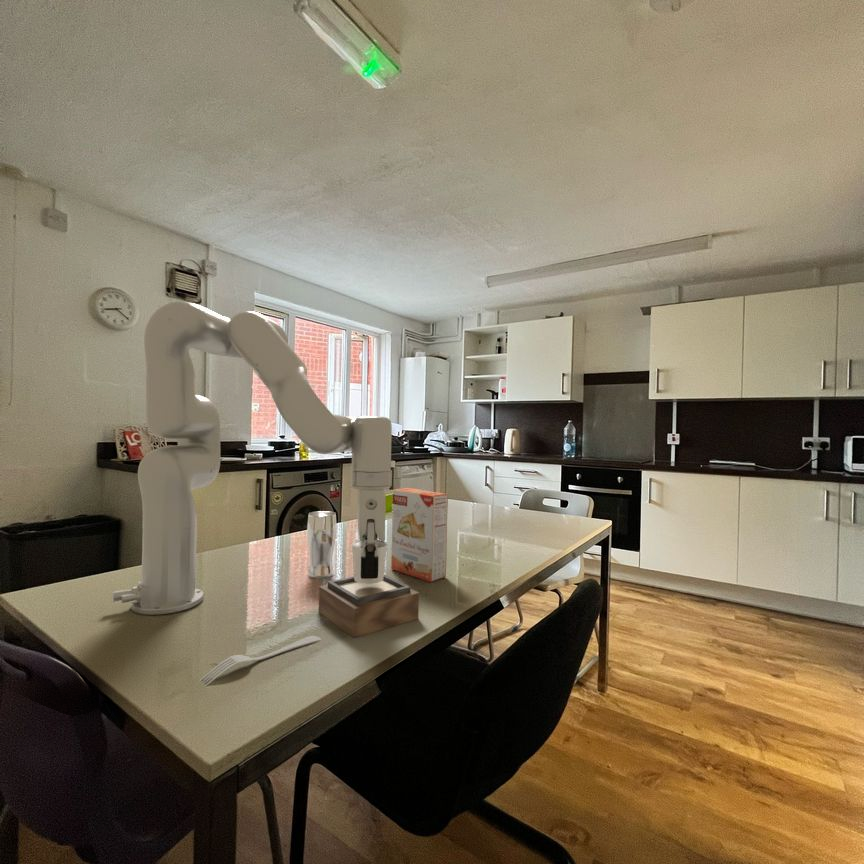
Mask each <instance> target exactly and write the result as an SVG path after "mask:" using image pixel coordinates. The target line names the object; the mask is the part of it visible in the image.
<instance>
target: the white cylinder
mask: <svg viewBox="0 0 864 864" xmlns="http://www.w3.org/2000/svg"><path fill="white" fill-rule="evenodd" d="M362 542H363V540H362ZM362 542H361V541H360V540H359V539H358V540H356V541H353V542H352V543H351V547H352V548H351V549H352V563H353V577H354V581H356V582H358V583H363V584H373V583H378V582H381V581H382V580H383V577H384V575H385V567H386V559H387V549H388V542H386V541H383V542H382V541H381V540H379V539H378V545H377V556H378V578H376V579H362V578H361V557H363V543H362ZM366 545H367V544H366ZM374 545H375V544H374ZM365 554H366V550H365Z"/></svg>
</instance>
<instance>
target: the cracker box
mask: <svg viewBox="0 0 864 864" xmlns="http://www.w3.org/2000/svg"><path fill="white" fill-rule="evenodd" d="M448 503H449V494H448V493H443V492H436V491H431V490H424V489H418V488H414V487H413V488H411V487H403V488H402V487H401V488H395V489H392V528H391V557H390V559H391V563H390V564H391V565H390V566H391V567H390V568H391V570H393V571H397V572H399V573H401V574H402V573H403V574H405V575H408V576H412V577H414V578H417V579H420V580H422V581H426V582H428V583H432V582H435V581H438V580H441V579H444V578H446V577H447V546H448V545H447V543H448V542H447V541H448V511H449V510H448V509H449V508H448V506H449V505H448Z"/></svg>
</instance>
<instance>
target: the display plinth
mask: <svg viewBox="0 0 864 864" xmlns="http://www.w3.org/2000/svg"><path fill="white" fill-rule="evenodd" d="M419 606H420V592H419V591H417V590H414V589H413V588H411V586H409V585H408V584H405V583H403V582H401V581H399V580H397V579H395V578H392V577H390V576H388V575H386V574H384V577H383V580H382V581H381V582H378V583H373V584H363V583H358V582H356V581H354V576H349V577H345V578H340V579H334V580H330V581H327V584H325V585H324V584H323V585H320V586H318V613H320V614H321V615H323V617H325V618H327V619H328V620H329V621H331V622H332V623H333V624H335V625H336V626H337V627H339V628H340V629H341V630H343V631H344V632H345V633H347V634H348V635H349V636H351V637H352V638H358V637H361V636H364V635H365V636H366V635H369V634H371V633H375V632H378V631H382V630H385V629H388V628H392V627H395V626H399V625H402V624H406V623H408V622H411V621H415V620H418V619H419V613H420V612H419V609H420V608H419Z"/></svg>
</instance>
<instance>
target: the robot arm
mask: <svg viewBox="0 0 864 864" xmlns="http://www.w3.org/2000/svg"><path fill="white" fill-rule="evenodd" d="M143 335H144V336H143V342H144V343H143V346H144V354H145V355H144V356H145V366H146V367H145V368H146V369H145V370H146V377H145V380H146V381H145V382H146V383H145V387H146V388H145V396H146V397H145V399H146V401H145V403H146V404H145V407H146V408H145V409H146V410H145V411H146V412H145V414H146V425H147V428H148V430H149V432H150V433H152V434H153V436H156V437H158V438H160V439H166V440H167V439H168V440H177V445H166V446H161V447H158V448H154V449H152V450H151V451H149V452H147V453H146V454H145V455H144V456H143V457H142V459H141V460H140V462H139V465H138V469H137V480H138V481H137V482H138V487H139V491H140V497H141V504H142V505H141V507H142V526H141V527H142V535H141V536H142V541H141V543H142V544H141V549H142V550H141V580H139V581H137V585H135V586H134V585H133V586H132V587H131V588H130V589H129V588H128V589H119V590H118V589H117V590H114V591H113V590H112V595H111V596H112V602H113V603H114V602H119V601H121V603H122V604H125V603H129V602H131V610H132V611H133V612H135V613H137V614H140V615H151V616H154V615H156V616H157V615H167V614H173V613H178V612H182V611H186V610H189V609H191V608H193V607H195V606H197V605H199V604H200V603H201V602H203V600H204V596H205V595H204V591H202V589H200V588H196V583H197V582H196V577H197V573H196V572H197V571H196V570H197V569H196V568H197V535H198V533H197V530H198V522H197V520H198V518H197V517H198V515H197V514H198V513H197V506H196V501H195V498H194V496H193V493H192V490H196V489H200V488H204V487H207V486H209V485H210V484H211V483H213V482H214V481H215V480H216V478H217V477H218V475H219V472H220V468H221V417H220V414H219V411H218V408H217V406H216V405H215V404H214V402H212V401H211V400H210V399H209V398H207V397H204V396H202V395H199V394H196V385H195V384H196V383H195V380H196V374H195V367H194V363H193V361H192V359H191V356H190V353H189V352H190V350H191V349H193V350H196V351H197V350H198V351H200V352H204V353H208V354H212V355H216V356H219V357H221V356H222V357H230V358H238V359H243V360H244V361H245V363H246V364H247V365H248V366H249V367H250V369H251V370H252V371H253V372H254V373H255V374H256V375H257V377H258V378H259V379H260V381H262V383H263V384H264V385H265V387H266V388H267V389H268V391H269V392H270V395H271V397H272V400H273V403H274V404H275V405H276V408H277V410H278V412H279V414H280V416H281V417H282V419H283V420H284V421H285V423H286V424H287V425H288V426H289V428H290V429H291V430H292V431H293V433H294V434H295V435H296V437H298V438H299V440H300V441H301V442H302V443H303V444H304V445H305V446H306V447H307V448H308V449H310V451H312V452H314V453H317V454H320V455H329V454H336V453H342V452H348V451H350V452H351V480H350V482H351V483H350V484H351V488H352V489H355V490H357V492H356V493H357V494H356V495H357V497H356V498H357V501H356V502H357V504H356V505H357V508H356V511H357V514H356V515H357V519H356V520H357V530H358V541H359V540H360V541H361V542H362V540H363V542H362V543H363V557H361V578H362V579H376V578H378V556H377V545H378V540H381V541H382V542H383V541H384V542H386V541H385V540H386V490H387V489H388V490H389V489H390V488H391V474H392V473H391V469H392V464H391V463H392V435H393V433H392V431H393V430H392V429H393V428H392V426H393V425H392V421H391V420H390V419H389V418H388V417H385V416H376V415H361V416H358V417H354V416H347V415H341V414H336V413H332V412H331V411H330V410H329V408H328V406H326V405H325V404H324V402H322V400H321V399H320V398H319V397H318V395H317V394H316V393H315V391H314V390H313V388H312V387H311V384H310V382H309V380H308V368H307V366H306V364H305V363H304V362H303V360H302V359H301V358H300V357H299V356H298V355H297V354H296V352H295V351H294V349H293V348H292V347H291V346H290V345H289V344H288V337H287V334H286V331H285V330H284V329H283V327H282V326H281V325H280V324H279V323H277V322H276V321H274V320H272V319H270V318H269V317H267V316H265V315H263V314H261V313H259V312H256V311H251V310H244V311H242V312H239V313H237V314H235V315H233V316H232V317H227V316H222V315H221V314H218V313H217V312H215V311H212V310H210V309H208V308H207V307H204V306H202V305H200V304H196V303H193V302H189V301H182V300H181V301H180V300H179V301H178V300H176V301H172V302H168V303H166V304H164V305H162V306H161V307H159V308H158V309H156V310H155V311H154V312H153V313H152V315H150V318H149V319H148V322H147V324H146V326H145V329H144V334H143ZM366 544H367V545H366ZM374 544H375V545H374ZM365 550H366V554H365Z"/></svg>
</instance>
